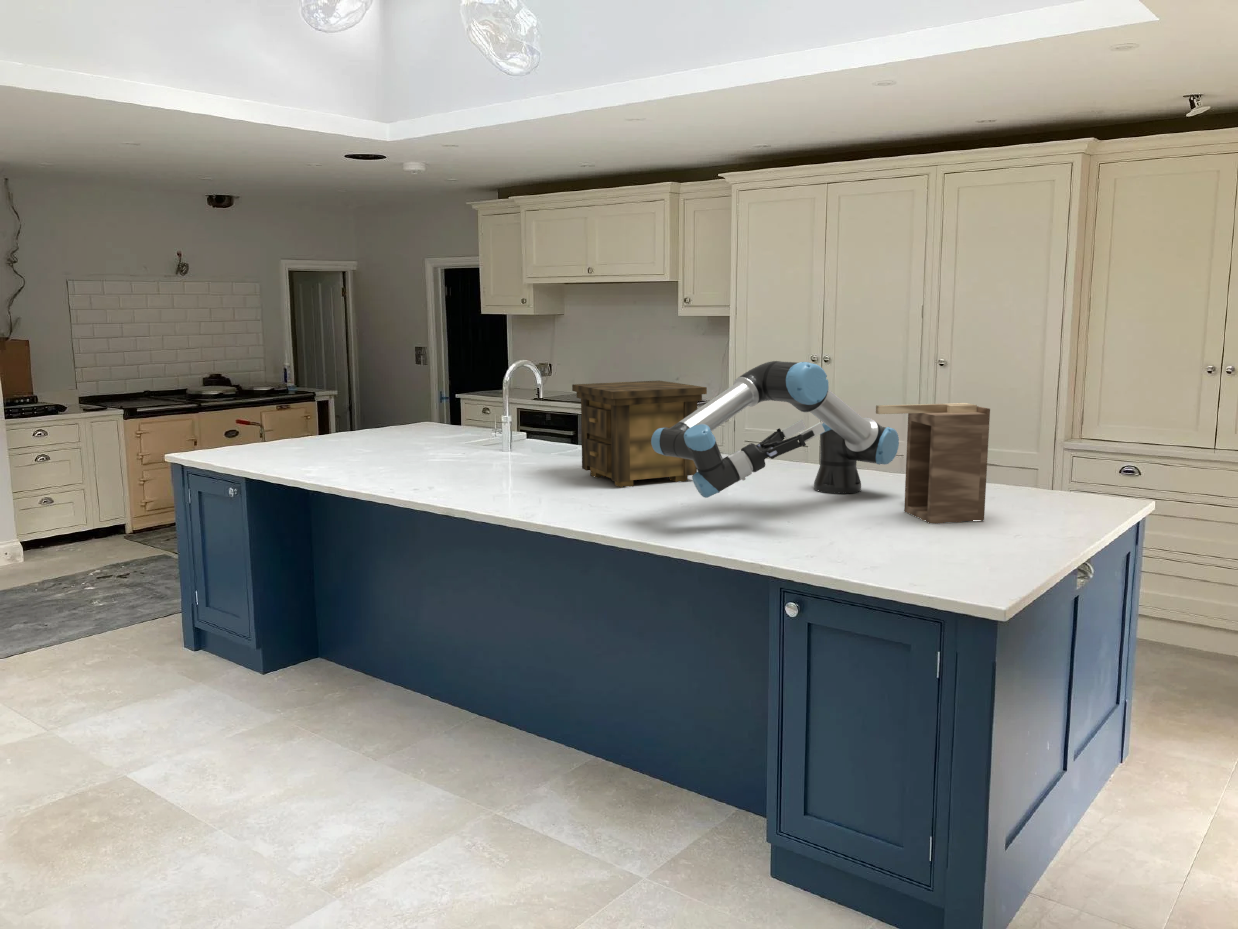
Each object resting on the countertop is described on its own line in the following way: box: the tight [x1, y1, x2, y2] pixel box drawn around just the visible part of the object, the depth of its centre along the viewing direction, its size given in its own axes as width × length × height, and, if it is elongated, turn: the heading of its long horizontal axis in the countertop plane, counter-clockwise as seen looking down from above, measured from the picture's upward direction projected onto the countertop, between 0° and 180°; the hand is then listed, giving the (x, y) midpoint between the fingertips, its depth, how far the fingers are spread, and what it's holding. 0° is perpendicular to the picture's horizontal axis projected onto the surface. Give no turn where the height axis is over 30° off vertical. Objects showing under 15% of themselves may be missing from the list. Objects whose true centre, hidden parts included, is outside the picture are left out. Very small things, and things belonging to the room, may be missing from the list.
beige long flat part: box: [875, 402, 978, 415], centre depth 267 cm, size 6×28×2 cm, turn 99°
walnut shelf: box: [903, 405, 991, 524], centre depth 271 cm, size 16×16×32 cm
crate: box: [571, 380, 708, 488], centre depth 336 cm, size 35×35×33 cm
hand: (813, 425), depth 264 cm, fingers open, 13 cm apart
